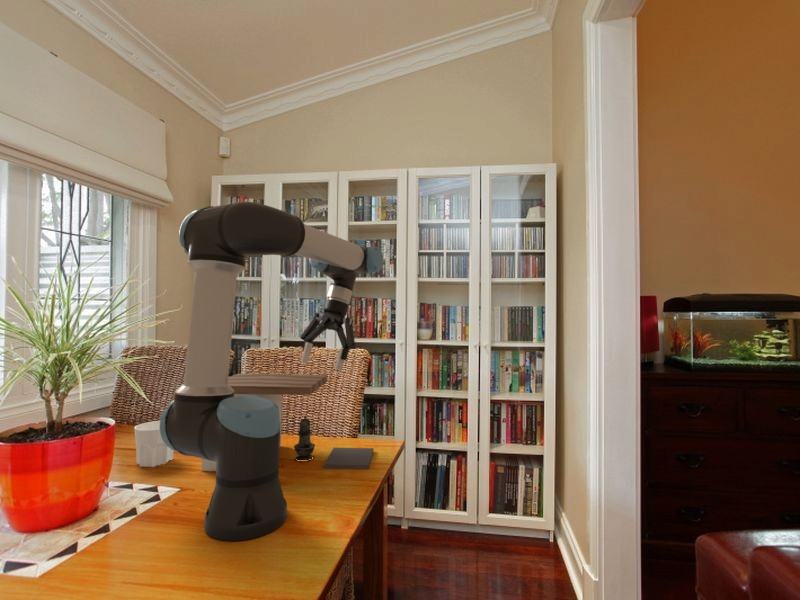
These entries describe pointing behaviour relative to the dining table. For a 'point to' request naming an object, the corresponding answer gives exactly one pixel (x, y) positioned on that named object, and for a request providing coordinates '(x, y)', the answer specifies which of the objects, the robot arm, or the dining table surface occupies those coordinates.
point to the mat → (349, 458)
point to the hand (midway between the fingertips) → (320, 366)
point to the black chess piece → (304, 441)
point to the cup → (151, 445)
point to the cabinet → (270, 391)
